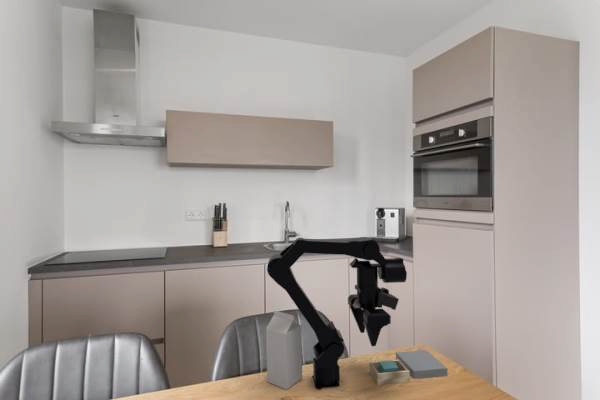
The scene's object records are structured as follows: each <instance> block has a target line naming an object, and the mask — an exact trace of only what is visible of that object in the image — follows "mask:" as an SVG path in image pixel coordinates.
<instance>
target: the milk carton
mask: <svg viewBox="0 0 600 400" xmlns="http://www.w3.org/2000/svg"><path fill="white" fill-rule="evenodd" d="M265 329H266V330H265V331H266V335H265V336H266V382H268V383H269V384H272V385H274V386H276V387H279V388H281V389H284V390H289V388H291V387H293V386H294V385H295V384H297V383H298V382H299V381H301V380H302V379H303V341H302V340H303V337H302V335H303V334H302V330H303V329H302V325H301V324H300V323H298V322H297V321H296V319H295V316H294V314H290V313H286V312H282V311H279V310H278V311H276V310H273V315H272V317H271V320H270V321H269V323H268V324H267V327H266V328H265Z"/></svg>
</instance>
